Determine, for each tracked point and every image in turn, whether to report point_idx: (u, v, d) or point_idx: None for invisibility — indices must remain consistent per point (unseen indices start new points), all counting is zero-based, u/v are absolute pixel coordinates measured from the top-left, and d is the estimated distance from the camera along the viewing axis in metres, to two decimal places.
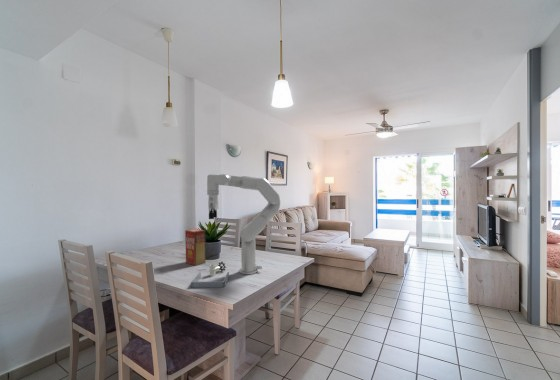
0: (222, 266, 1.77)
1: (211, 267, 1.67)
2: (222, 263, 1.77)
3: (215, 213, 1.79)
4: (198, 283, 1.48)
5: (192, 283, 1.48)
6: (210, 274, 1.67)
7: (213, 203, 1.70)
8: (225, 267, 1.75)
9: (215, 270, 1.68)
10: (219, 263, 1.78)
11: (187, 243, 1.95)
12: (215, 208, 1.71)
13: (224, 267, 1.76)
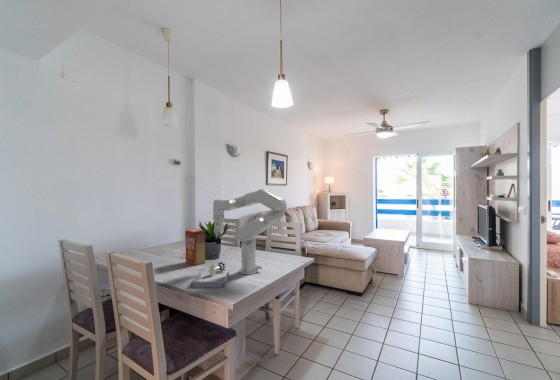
0: (222, 266, 1.76)
1: (211, 267, 1.67)
2: (222, 263, 1.77)
3: None
4: (198, 283, 1.48)
5: (192, 283, 1.48)
6: (210, 274, 1.67)
7: (219, 228, 1.75)
8: (225, 267, 1.75)
9: (215, 270, 1.68)
10: (219, 263, 1.78)
11: (187, 243, 1.95)
12: (221, 233, 1.76)
13: (224, 267, 1.76)
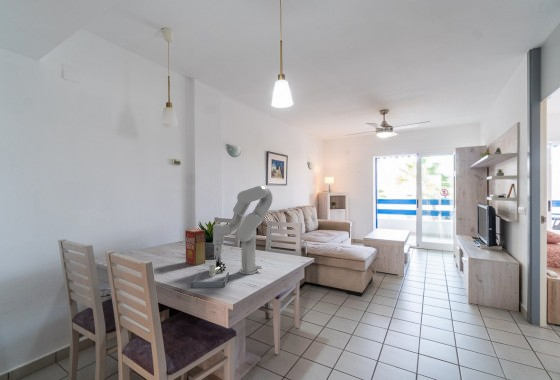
0: None
1: (211, 268, 1.66)
2: (222, 264, 1.76)
3: None
4: (198, 283, 1.48)
5: (192, 283, 1.48)
6: (210, 275, 1.66)
7: (219, 253, 1.75)
8: None
9: (215, 271, 1.67)
10: (219, 264, 1.77)
11: (187, 244, 1.95)
12: (221, 258, 1.75)
13: None
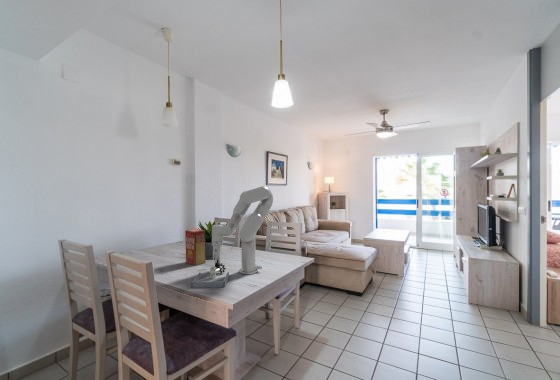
0: (221, 268, 1.72)
1: (212, 269, 1.62)
2: (221, 265, 1.73)
3: None
4: (198, 283, 1.48)
5: (192, 283, 1.48)
6: (211, 277, 1.62)
7: (217, 254, 1.71)
8: None
9: (216, 272, 1.64)
10: (218, 265, 1.74)
11: (187, 243, 1.95)
12: (219, 259, 1.72)
13: None
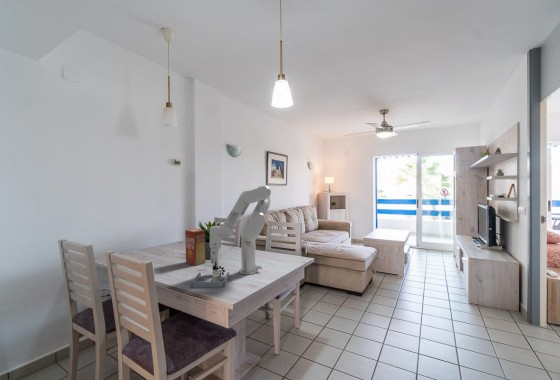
0: (221, 270, 1.67)
1: (216, 272, 1.56)
2: (220, 267, 1.67)
3: None
4: (198, 283, 1.48)
5: (192, 283, 1.48)
6: (215, 280, 1.56)
7: (215, 257, 1.65)
8: None
9: (219, 275, 1.59)
10: None
11: (187, 243, 1.95)
12: (217, 262, 1.66)
13: (223, 271, 1.67)
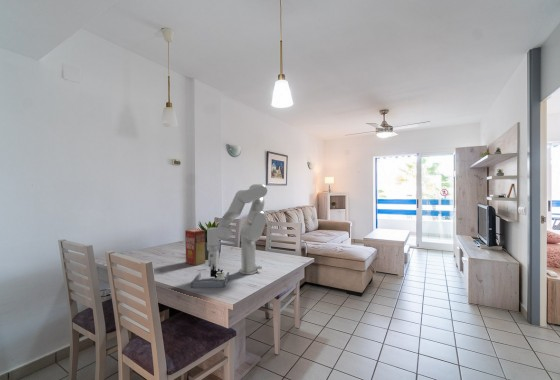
0: None
1: (222, 275, 1.52)
2: (219, 270, 1.62)
3: (214, 272, 1.63)
4: (198, 283, 1.48)
5: (192, 283, 1.48)
6: None
7: (213, 260, 1.58)
8: None
9: None
10: (215, 271, 1.61)
11: (187, 244, 1.95)
12: (215, 265, 1.59)
13: None
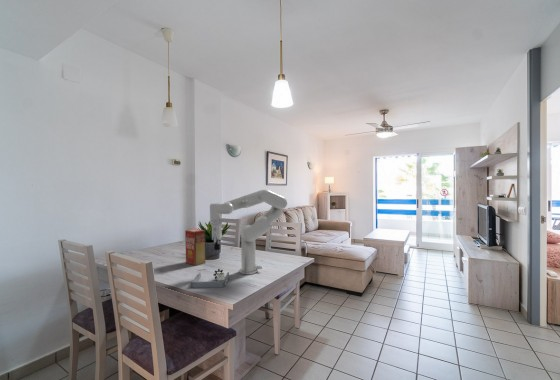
0: None
1: (222, 275, 1.51)
2: (219, 270, 1.61)
3: None
4: (198, 283, 1.48)
5: (192, 283, 1.48)
6: None
7: (217, 233, 1.66)
8: None
9: (224, 278, 1.54)
10: (215, 271, 1.60)
11: (187, 244, 1.95)
12: (219, 238, 1.66)
13: None
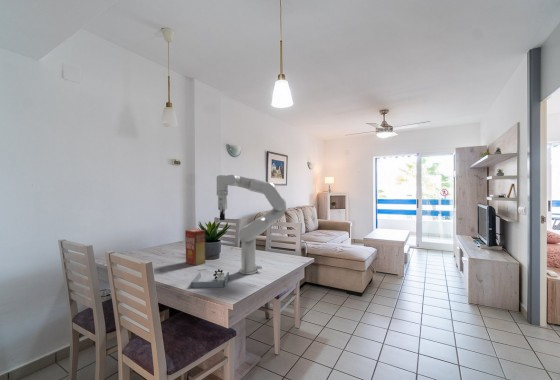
0: None
1: (222, 276, 1.51)
2: (219, 270, 1.61)
3: None
4: (198, 283, 1.48)
5: (192, 283, 1.48)
6: None
7: (223, 203, 1.72)
8: None
9: None
10: (215, 271, 1.60)
11: (187, 243, 1.95)
12: (225, 208, 1.73)
13: None
